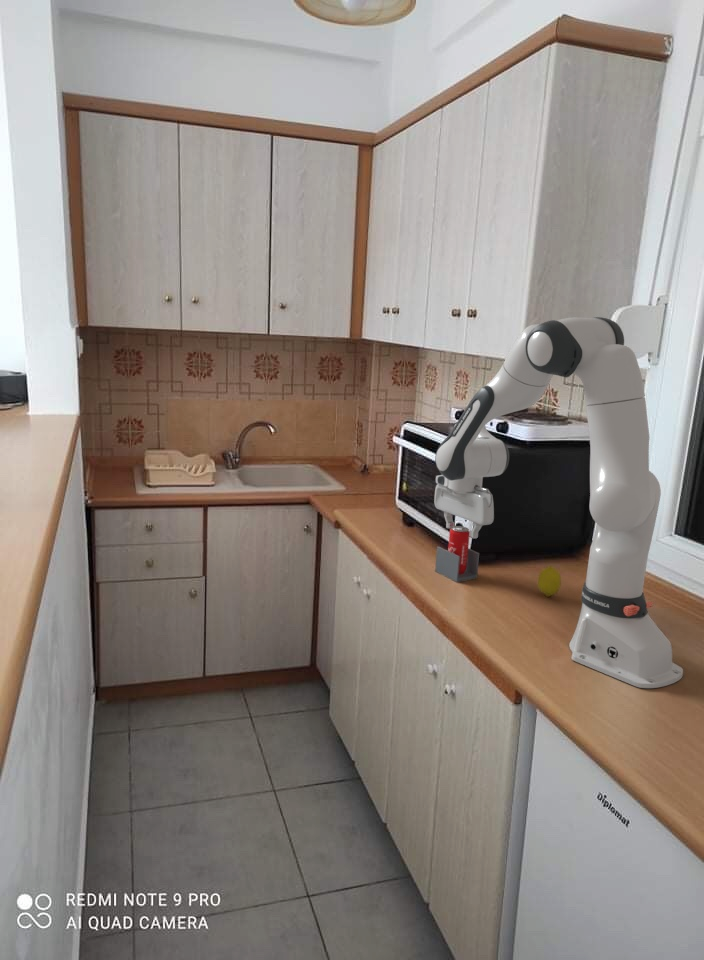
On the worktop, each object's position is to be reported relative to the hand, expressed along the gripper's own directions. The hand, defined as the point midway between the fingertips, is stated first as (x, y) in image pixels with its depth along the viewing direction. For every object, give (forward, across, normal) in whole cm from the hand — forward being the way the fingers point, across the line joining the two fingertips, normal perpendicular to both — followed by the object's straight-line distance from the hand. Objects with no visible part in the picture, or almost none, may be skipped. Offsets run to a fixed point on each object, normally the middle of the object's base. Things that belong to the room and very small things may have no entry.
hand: (461, 533), depth 189 cm
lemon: (+12, -21, -11) cm, 27 cm away
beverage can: (+11, 0, +1) cm, 11 cm away
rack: (+12, +1, 0) cm, 12 cm away
